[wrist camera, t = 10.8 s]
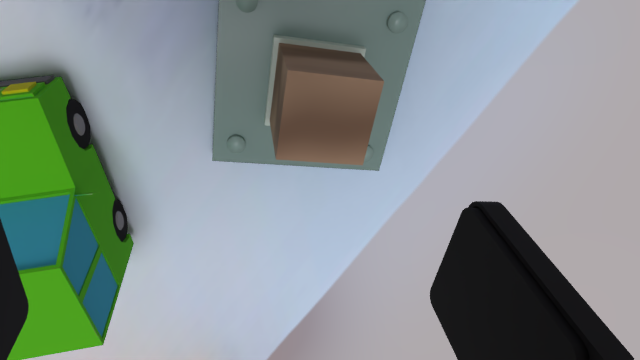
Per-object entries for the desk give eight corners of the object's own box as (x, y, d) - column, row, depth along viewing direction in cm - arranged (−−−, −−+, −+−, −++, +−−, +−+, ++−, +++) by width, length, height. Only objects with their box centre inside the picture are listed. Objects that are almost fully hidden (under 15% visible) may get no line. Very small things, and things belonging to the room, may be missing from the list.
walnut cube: (278, 42, 25) (288, 70, 21) (360, 53, 26) (384, 81, 22) (269, 121, 27) (275, 159, 23) (344, 127, 28) (362, 165, 24)
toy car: (86, 60, 25) (14, 135, 17) (150, 230, 33) (121, 341, 24) (-99, 81, 24) (-272, 172, 16) (10, 252, 32) (-71, 375, 23)
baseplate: (220, -37, 24) (219, -33, 22) (418, -5, 26) (429, 1, 25) (213, 152, 30) (211, 165, 28) (374, 162, 33) (381, 174, 31)
